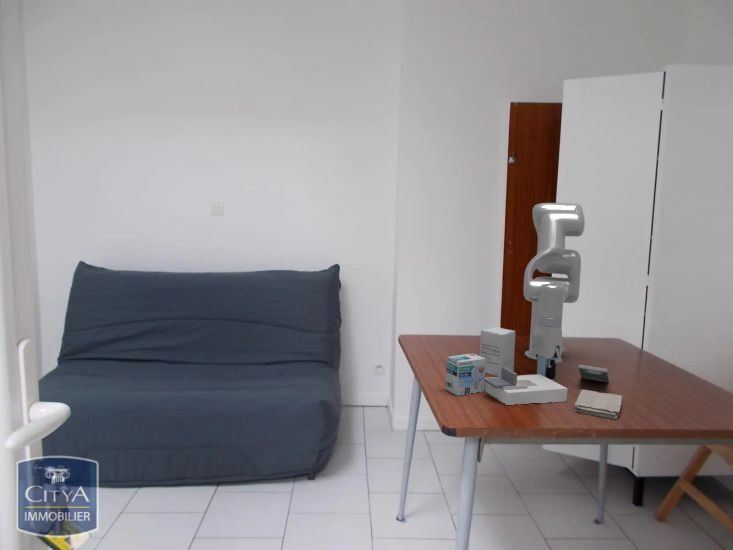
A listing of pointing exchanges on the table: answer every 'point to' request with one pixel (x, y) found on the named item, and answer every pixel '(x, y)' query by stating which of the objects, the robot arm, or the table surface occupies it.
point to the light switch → (593, 373)
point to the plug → (542, 366)
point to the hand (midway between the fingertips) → (545, 376)
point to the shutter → (503, 379)
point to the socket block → (529, 391)
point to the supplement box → (497, 349)
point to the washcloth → (598, 404)
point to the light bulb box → (465, 374)
